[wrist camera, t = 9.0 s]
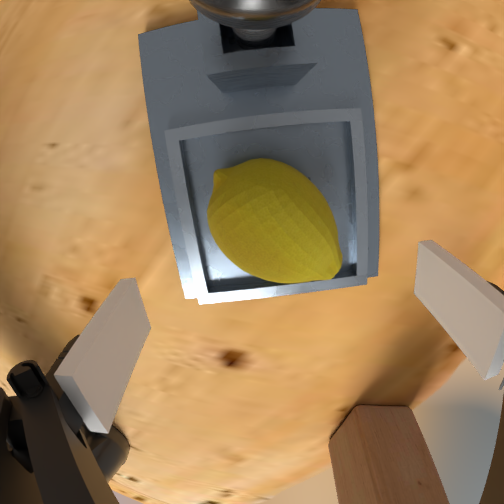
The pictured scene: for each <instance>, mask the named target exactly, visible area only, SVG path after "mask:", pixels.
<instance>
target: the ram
mask: <svg viewBox="0 0 504 504" xmlns="http://www.w3.org/2000/svg"><path fill="white" fill-rule="evenodd" d="M189 1H190V3H191V4H192V5H193V6H194V7H195V9H197V10H198V11H199V12H200V13H201V14H203V15H204V16H206V17H207V18H209V19H211V20H213V21H215V22H217V23H219V24H222V25H225V26H229V27H232V29H233V34H234V38H235V41H236V43H237V44H238V45H239V46H240V47H241V48H242V49H244V50H255V49H264V48H268V47H269V46H270V45H271V44H272V43H273V41H274V38H275V34H276V30H277V27H281V26H285V25H288V24H291V23H293V22H295V21H297V20H299V19H301V18H303V17H304V16H306V15H307V14H309V13H310V12H311V11H312V10H313V9H314V8H315V7H316V6H317V5H318V4H319V2H320V1H321V0H189Z"/></svg>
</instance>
